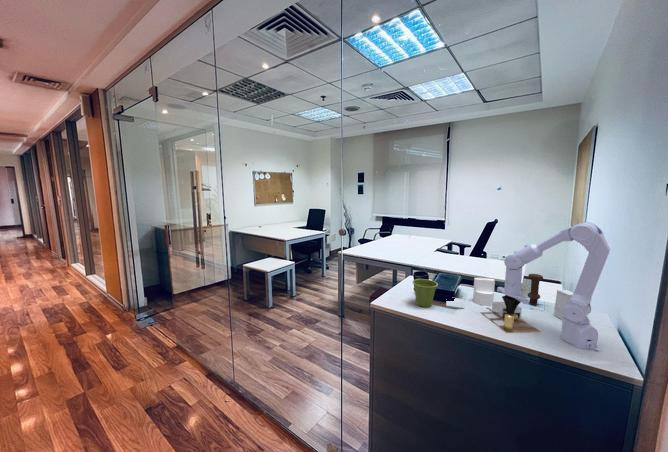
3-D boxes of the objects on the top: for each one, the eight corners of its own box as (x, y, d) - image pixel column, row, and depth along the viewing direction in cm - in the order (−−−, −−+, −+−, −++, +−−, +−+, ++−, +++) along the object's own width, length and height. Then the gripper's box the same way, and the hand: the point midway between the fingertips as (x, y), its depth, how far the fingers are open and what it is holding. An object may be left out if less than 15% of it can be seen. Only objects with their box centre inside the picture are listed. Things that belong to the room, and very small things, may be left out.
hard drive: (464, 308, 125) (464, 298, 137) (445, 305, 129) (446, 296, 140) (464, 311, 126) (463, 302, 137) (445, 308, 129) (446, 299, 140)
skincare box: (553, 315, 120) (555, 289, 119) (562, 315, 121) (565, 289, 119) (565, 321, 114) (568, 294, 113) (575, 321, 114) (578, 294, 113)
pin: (514, 331, 104) (515, 317, 103) (507, 332, 104) (508, 317, 103) (509, 328, 107) (510, 313, 106) (502, 328, 107) (503, 313, 106)
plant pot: (410, 307, 129) (411, 284, 128) (413, 298, 140) (413, 277, 139) (436, 311, 125) (437, 288, 123) (437, 302, 135) (438, 280, 134)
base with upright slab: (475, 304, 132) (477, 281, 131) (470, 298, 141) (472, 275, 139) (496, 306, 130) (497, 282, 129) (489, 299, 139) (491, 277, 137)
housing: (520, 317, 116) (521, 308, 115) (502, 317, 115) (502, 308, 115) (509, 310, 123) (510, 301, 122) (491, 310, 122) (492, 302, 122)
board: (543, 334, 104) (544, 327, 103) (506, 335, 103) (507, 327, 103) (504, 309, 127) (504, 303, 126) (473, 309, 126) (473, 303, 126)
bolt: (542, 307, 129) (545, 277, 127) (530, 306, 130) (533, 276, 128) (535, 302, 135) (538, 273, 133) (524, 301, 136) (527, 273, 134)
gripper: (536, 288, 106) (533, 320, 107) (508, 277, 120) (505, 306, 122) (520, 289, 105) (517, 321, 106) (493, 277, 119) (491, 306, 121)
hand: (510, 313), depth 114 cm, fingers closed
